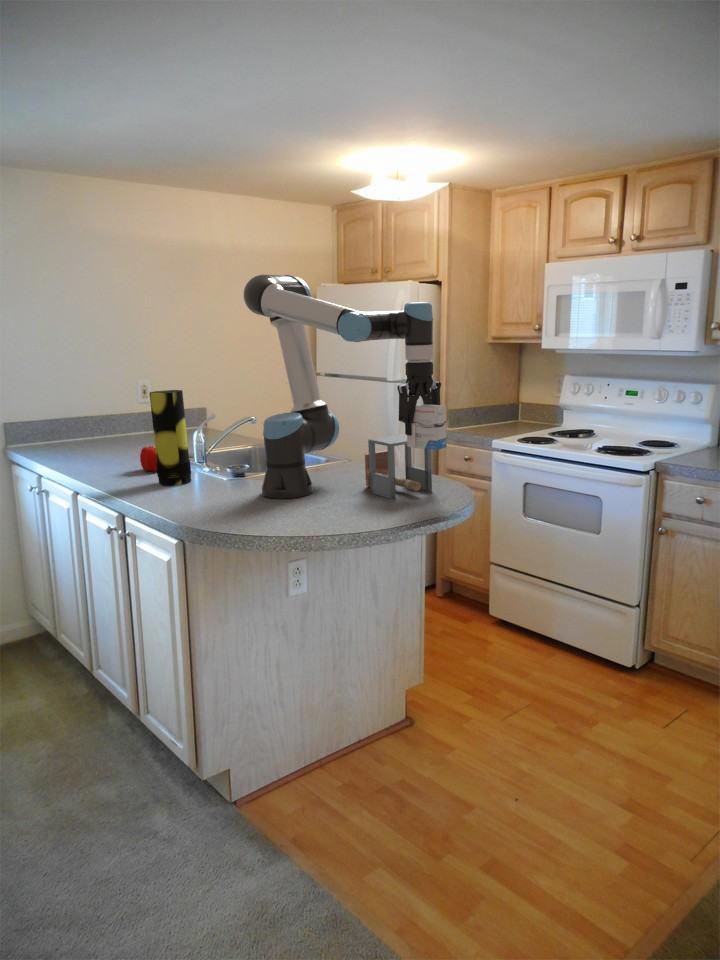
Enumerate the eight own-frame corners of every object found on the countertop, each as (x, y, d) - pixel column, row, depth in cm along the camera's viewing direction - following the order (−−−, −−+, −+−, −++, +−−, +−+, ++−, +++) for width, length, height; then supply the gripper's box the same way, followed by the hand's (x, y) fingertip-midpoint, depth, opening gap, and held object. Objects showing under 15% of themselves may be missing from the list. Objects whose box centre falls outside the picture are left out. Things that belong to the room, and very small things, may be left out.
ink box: (447, 447, 193) (446, 404, 191) (437, 450, 190) (437, 406, 187) (420, 444, 199) (420, 403, 196) (411, 447, 195) (410, 405, 192)
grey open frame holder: (370, 492, 208) (368, 439, 205) (408, 484, 216) (407, 433, 212) (392, 498, 199) (390, 443, 196) (431, 490, 207) (430, 437, 203)
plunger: (366, 486, 214) (364, 453, 212) (389, 481, 219) (388, 449, 217) (405, 497, 198) (404, 463, 196) (429, 492, 203) (429, 458, 201)
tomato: (171, 466, 261) (168, 442, 259) (173, 472, 249) (170, 447, 247) (141, 469, 257) (138, 444, 255) (142, 475, 246) (139, 449, 244)
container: (195, 478, 237) (186, 389, 231) (188, 485, 227) (179, 392, 220) (163, 479, 237) (153, 390, 231) (154, 487, 227) (144, 394, 220)
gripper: (436, 358, 199) (437, 439, 204) (383, 362, 189) (385, 447, 194) (454, 359, 193) (454, 442, 198) (400, 363, 183) (401, 451, 188)
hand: (420, 445), depth 196 cm, fingers closed on ink box, 6 cm apart
